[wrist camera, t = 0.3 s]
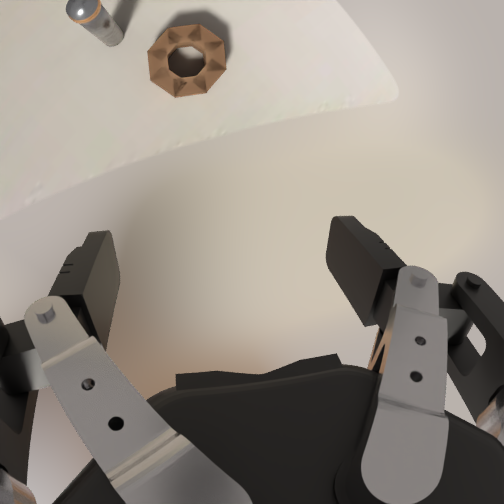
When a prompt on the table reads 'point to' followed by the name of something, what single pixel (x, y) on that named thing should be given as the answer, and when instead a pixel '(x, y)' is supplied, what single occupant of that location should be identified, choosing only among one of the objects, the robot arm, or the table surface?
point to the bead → (184, 38)
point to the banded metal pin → (95, 20)
